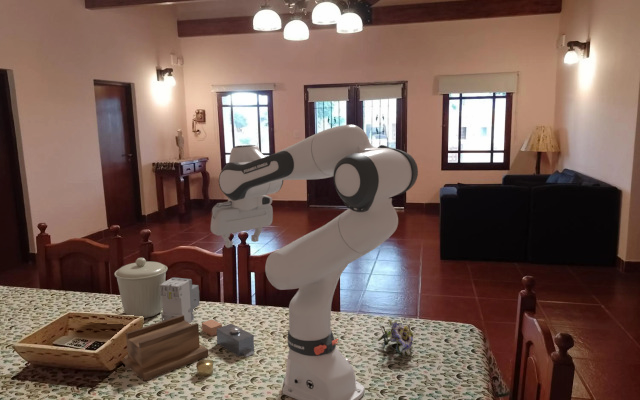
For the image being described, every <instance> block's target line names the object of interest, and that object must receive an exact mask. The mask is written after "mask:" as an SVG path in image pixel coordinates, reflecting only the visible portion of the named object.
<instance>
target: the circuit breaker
mask: <svg viewBox="0 0 640 400" xmlns="http://www.w3.org/2000/svg"><path fill="white" fill-rule="evenodd" d="M160 286H161V289H160V297H162V312H161V313H160V314H161V315H160V316H161V322H162V321H165V320H168V319H172V318H175V317H178V316H181V315H184V320H185V321H186V322H188V323H190V324H191V322H193V321H194V317H195V315H194V310H195V309H196V308H197V307H198V306H199V307H200V289H199V288H200V287H199V284H193V280H192V279H191V278H181V277H171V278H170V279H167V280H165V282H164V283H162V284H160ZM161 292H162V294H161Z"/></svg>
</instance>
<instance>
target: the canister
mask: <svg viewBox="0 0 640 400" xmlns="http://www.w3.org/2000/svg"><path fill="white" fill-rule="evenodd" d="M167 271H168V266H167V265H165V264H163V263H161V262H158V261H147V260H146V259H145V258H144V257H138V258H137V259H136V260H135V262H132V263H128V264H125V265H122V266H121V267H119V268H118V269H117V270H116V271H115V272H114V277H115V278H116V280H117V285H118V290H119V294H120V299H121V304H122V308H123V310H124V311H123V312H124V313H125V315H126V316H127V315H134V316H143V317H144V318H143V319H147V318H151V317H154V316H157V315H158V314H161V313H162V312H161V311H163V308H162V297H160V289H161V286H160V284H162V283H164V282H165V281H166V276H167V274H166V273H167ZM161 294H162V292H161ZM160 312H161V313H160Z"/></svg>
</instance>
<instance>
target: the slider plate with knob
mask: <svg viewBox="0 0 640 400" xmlns="http://www.w3.org/2000/svg"><path fill="white" fill-rule="evenodd" d="M216 344H217V345H219V346H220V347H222V348H224V349H226V350H227V351H229V352H231V353H232V354H234V355H235V356H237V357H242V356H243V357H244V358H248V357H250V356H252V355H255V338H254V334H252V333H251V332H248V331H246V330H244V329H242V328H241V327H239V326H237V325H235V324H233V323H230V324H227V325H224V326H223V325H222V327H220V328H218V329H217V334H216Z"/></svg>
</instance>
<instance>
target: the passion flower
mask: <svg viewBox="0 0 640 400" xmlns="http://www.w3.org/2000/svg"><path fill="white" fill-rule="evenodd" d="M388 323H389V326H390V327H391V329H390V330H389V329H388V330H386V328H385V326H384V325H382V326H381V328H380V329H381V332H382V335H381V336H380V337H379V338H378V339H377V342H380V341H381V340H383V345H382V349H384V348H385V346H388V344H389V342H391V343H394V342H395V343H396V344H397V345H396V348H395V350H396V352H397V353H398V354H400V355H402V356H403V357H404V356H410V355H411V354H410V353H411V352H410V349H411V348H413V347H414V345H413V342H414V333H413V331H412V329H411V326H410V325H406V326H405V325H402V324H403V323H398V320H397V319H395V320H394V322H393V321H392V320H390V319H389V321H388Z"/></svg>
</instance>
